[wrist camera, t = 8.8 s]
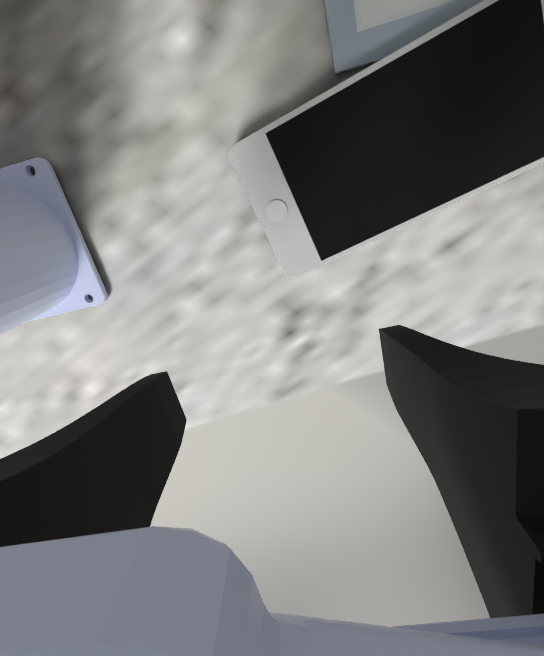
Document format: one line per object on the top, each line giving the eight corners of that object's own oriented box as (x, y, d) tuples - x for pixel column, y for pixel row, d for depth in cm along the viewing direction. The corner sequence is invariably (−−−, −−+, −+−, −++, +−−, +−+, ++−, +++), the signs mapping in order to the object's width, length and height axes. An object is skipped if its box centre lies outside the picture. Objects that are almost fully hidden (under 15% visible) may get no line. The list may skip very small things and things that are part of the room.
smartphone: (226, 150, 17) (224, 149, 16) (563, -44, 14) (582, -57, 13) (288, 276, 20) (288, 282, 19) (583, 139, 16) (599, 138, 16)
